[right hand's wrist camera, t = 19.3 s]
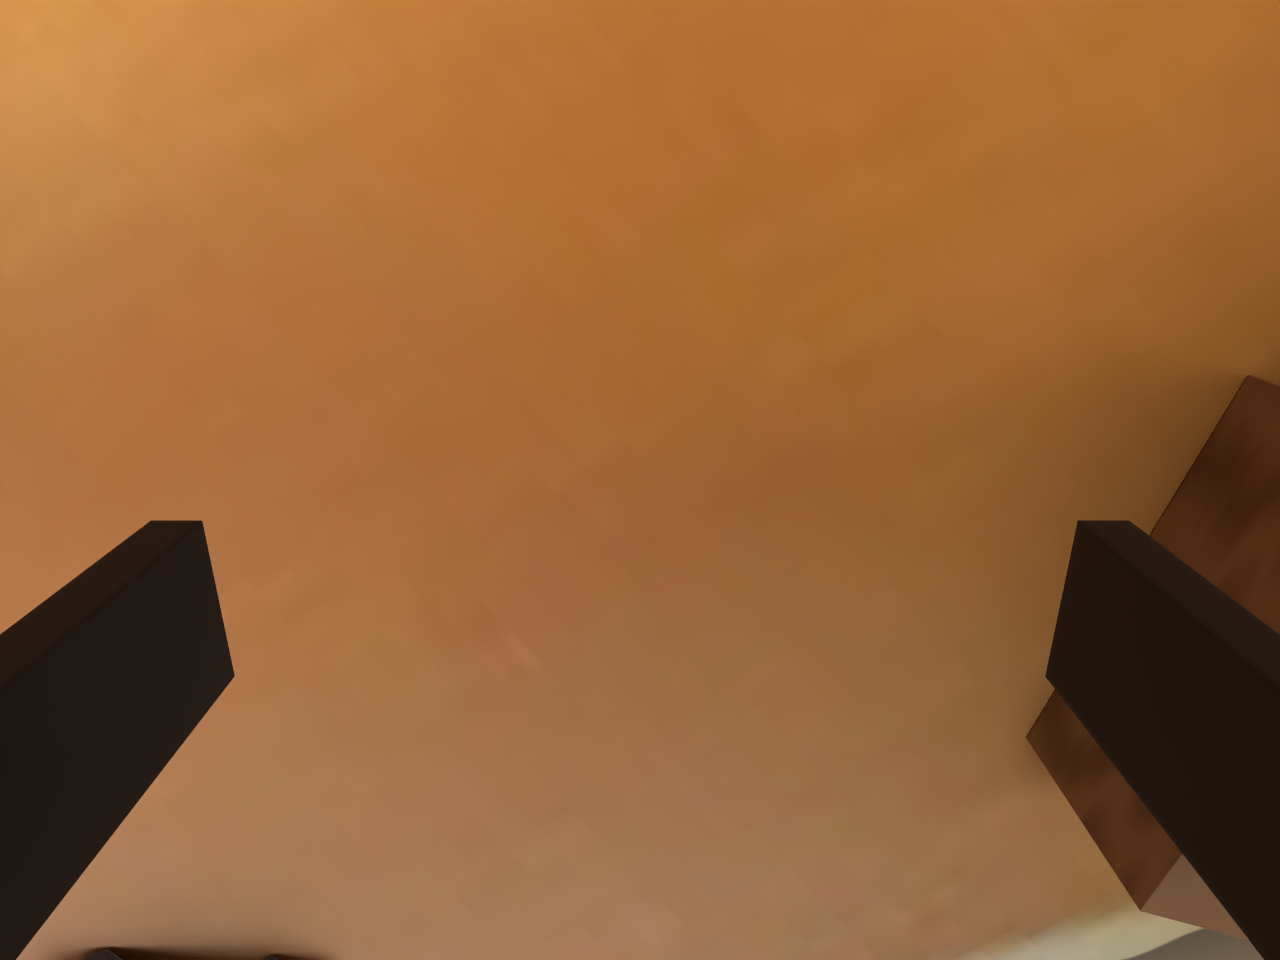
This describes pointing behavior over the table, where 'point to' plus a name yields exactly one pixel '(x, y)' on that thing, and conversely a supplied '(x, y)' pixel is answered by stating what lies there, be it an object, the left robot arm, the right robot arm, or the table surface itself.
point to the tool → (109, 959)
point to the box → (1244, 570)
